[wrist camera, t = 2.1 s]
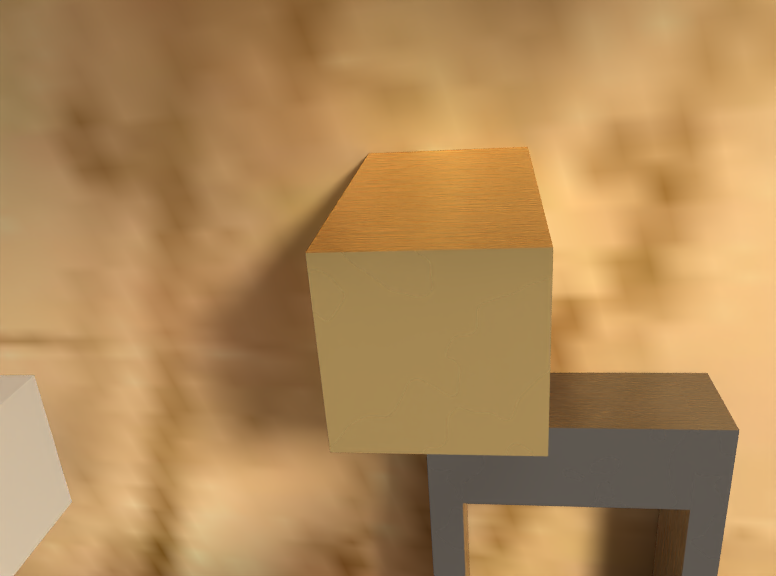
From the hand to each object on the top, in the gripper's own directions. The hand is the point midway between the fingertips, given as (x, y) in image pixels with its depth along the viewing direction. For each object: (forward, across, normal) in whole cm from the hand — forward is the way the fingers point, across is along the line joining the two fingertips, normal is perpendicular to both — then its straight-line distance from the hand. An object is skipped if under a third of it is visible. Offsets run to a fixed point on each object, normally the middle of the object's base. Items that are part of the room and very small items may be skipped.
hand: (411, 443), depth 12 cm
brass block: (+10, 0, 0) cm, 10 cm away
